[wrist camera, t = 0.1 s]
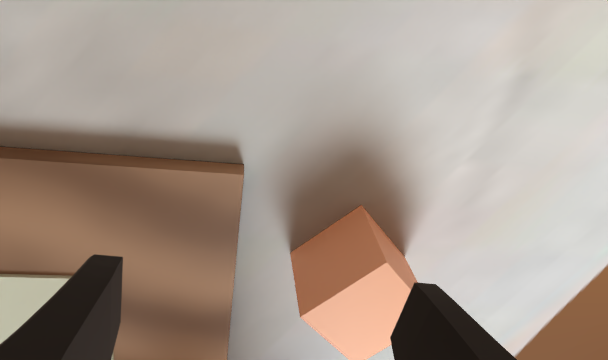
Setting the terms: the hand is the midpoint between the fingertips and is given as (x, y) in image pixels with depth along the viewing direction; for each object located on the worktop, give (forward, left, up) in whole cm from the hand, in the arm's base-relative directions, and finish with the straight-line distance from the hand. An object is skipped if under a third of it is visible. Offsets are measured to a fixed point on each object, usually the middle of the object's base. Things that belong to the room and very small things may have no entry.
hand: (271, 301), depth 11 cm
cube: (-6, -6, -10) cm, 13 cm away
